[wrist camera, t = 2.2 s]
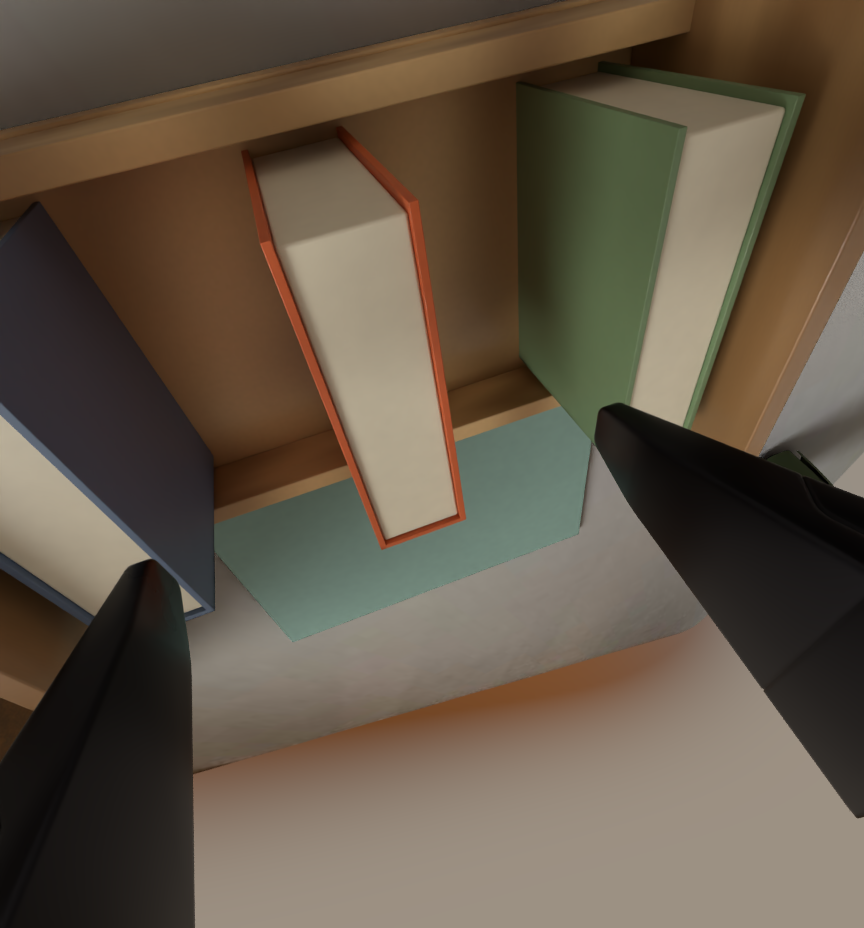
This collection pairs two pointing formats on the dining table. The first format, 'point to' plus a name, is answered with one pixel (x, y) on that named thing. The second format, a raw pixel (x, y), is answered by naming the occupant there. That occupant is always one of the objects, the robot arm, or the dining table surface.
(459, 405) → the book rack
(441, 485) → the orange book
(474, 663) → the dining table surface
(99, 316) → the blue book
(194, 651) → the dining table surface
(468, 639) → the dining table surface
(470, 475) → the mat
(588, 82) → the green book
